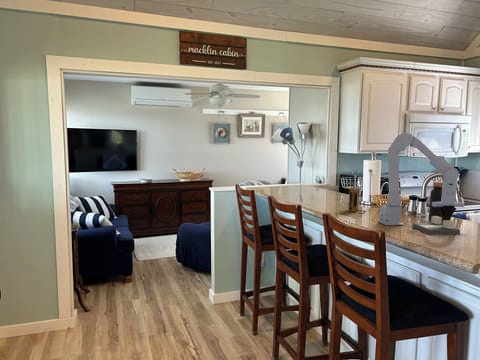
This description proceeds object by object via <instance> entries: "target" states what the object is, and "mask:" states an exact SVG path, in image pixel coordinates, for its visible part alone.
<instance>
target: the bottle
mask: <svg viewBox="0 0 480 360" xmlns="http://www.w3.org/2000/svg"><path fill="white" fill-rule="evenodd" d="M442 185H443V181H433V183H432V186H433V189H432V190H431V191H430V195H429V196H430V197H429V208H428V221H429V222H431V217H432V216H439V217H442V220H441V223H444V219H443V215H442V212H441V210H440V208H439V207H433V206H432V202H441V198H442Z"/></svg>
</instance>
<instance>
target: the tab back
mask: <svg viewBox="0 0 480 360" xmlns="http://www.w3.org/2000/svg"><path fill="white" fill-rule="evenodd" d="M441 220H442V217H439V216H432V217H431V221H430V223H434V224H441V223H442V222H441Z"/></svg>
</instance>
